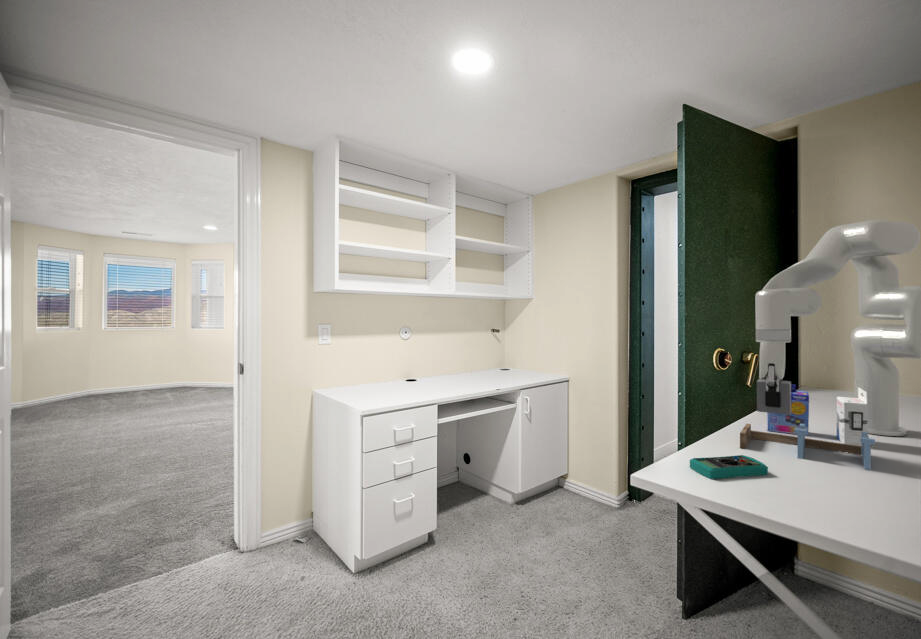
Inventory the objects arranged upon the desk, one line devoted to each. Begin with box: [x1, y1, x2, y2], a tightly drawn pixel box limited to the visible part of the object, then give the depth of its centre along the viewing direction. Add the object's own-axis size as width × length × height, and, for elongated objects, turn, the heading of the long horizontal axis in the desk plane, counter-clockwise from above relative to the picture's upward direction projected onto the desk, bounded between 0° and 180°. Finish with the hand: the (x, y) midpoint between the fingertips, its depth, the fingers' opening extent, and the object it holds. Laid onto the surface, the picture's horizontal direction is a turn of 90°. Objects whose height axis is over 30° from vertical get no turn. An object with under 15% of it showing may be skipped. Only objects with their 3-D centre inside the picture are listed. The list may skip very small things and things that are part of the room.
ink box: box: [836, 387, 867, 446], centre depth 116 cm, size 8×5×15 cm, turn 149°
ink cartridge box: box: [766, 384, 810, 437], centre depth 127 cm, size 10×6×14 cm, turn 54°
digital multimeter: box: [689, 454, 769, 480], centre depth 98 cm, size 7×15×3 cm, turn 98°
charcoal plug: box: [756, 378, 792, 415], centre depth 113 cm, size 4×7×8 cm, turn 49°
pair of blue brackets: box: [794, 424, 876, 471], centre depth 105 cm, size 12×14×7 cm
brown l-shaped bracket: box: [739, 423, 861, 456], centre depth 110 cm, size 13×25×4 cm, turn 49°
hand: (774, 404), depth 113 cm, fingers closed on charcoal plug, 4 cm apart
